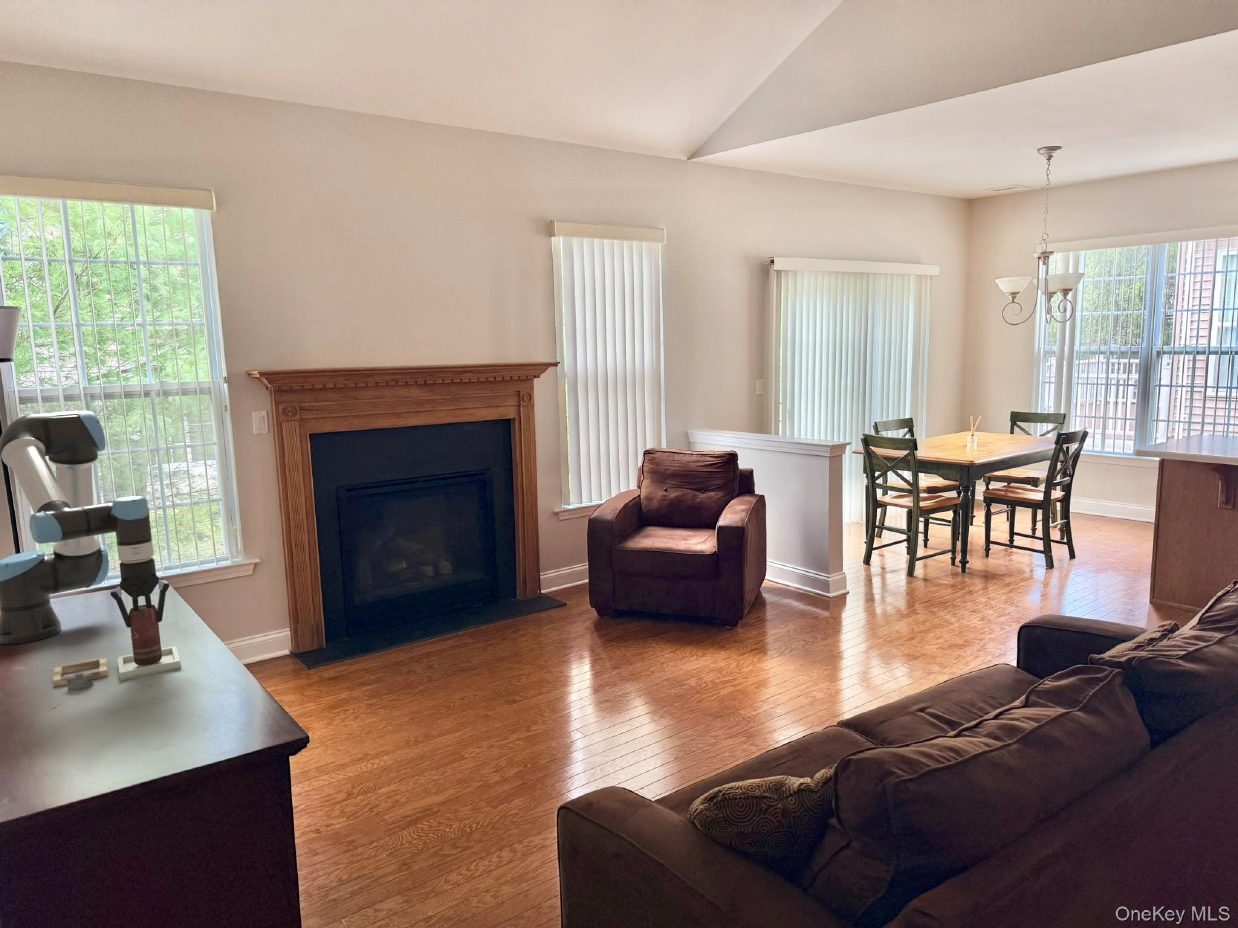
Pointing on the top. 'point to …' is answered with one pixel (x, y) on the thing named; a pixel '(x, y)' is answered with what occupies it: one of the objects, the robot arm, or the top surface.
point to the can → (145, 635)
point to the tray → (133, 670)
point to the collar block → (80, 674)
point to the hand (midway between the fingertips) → (147, 651)
